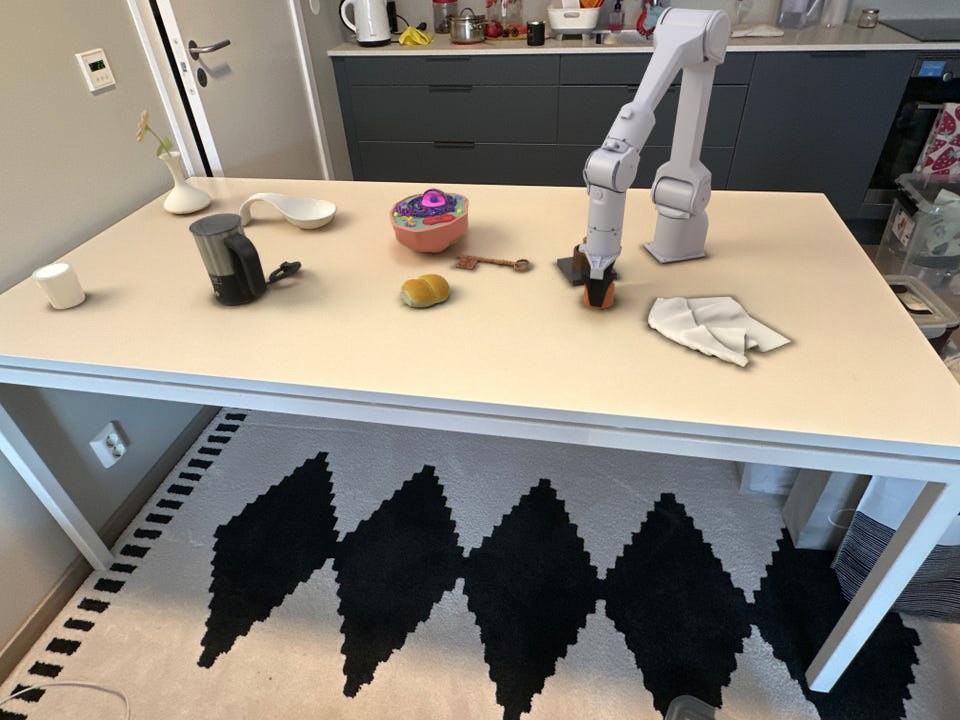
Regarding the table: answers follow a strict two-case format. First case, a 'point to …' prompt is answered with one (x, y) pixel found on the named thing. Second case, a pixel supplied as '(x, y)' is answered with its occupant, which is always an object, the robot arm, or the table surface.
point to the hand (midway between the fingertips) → (598, 294)
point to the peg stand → (569, 270)
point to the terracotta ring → (607, 301)
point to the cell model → (430, 220)
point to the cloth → (713, 327)
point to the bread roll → (425, 290)
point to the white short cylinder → (59, 284)
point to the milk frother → (233, 259)
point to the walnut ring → (579, 259)
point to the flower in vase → (176, 177)
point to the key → (472, 261)
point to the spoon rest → (294, 209)
